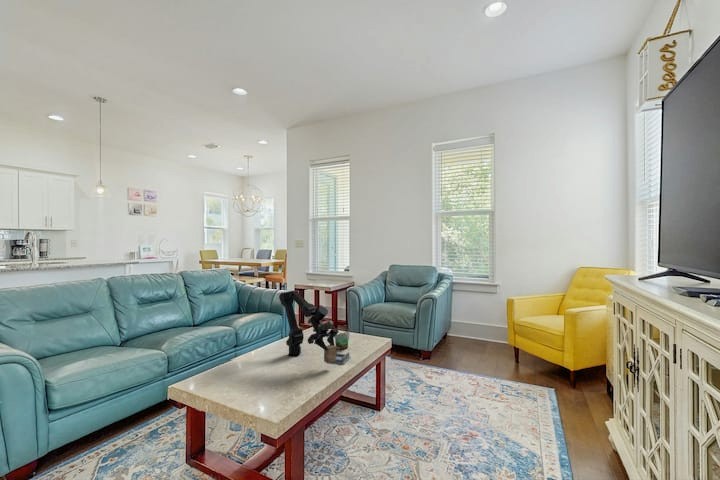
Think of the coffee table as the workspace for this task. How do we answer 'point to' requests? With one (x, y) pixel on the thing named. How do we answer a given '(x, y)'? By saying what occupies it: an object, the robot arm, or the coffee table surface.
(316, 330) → the robot arm
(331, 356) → the walnut block
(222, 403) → the coffee table surface
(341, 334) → the food container
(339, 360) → the cradle
